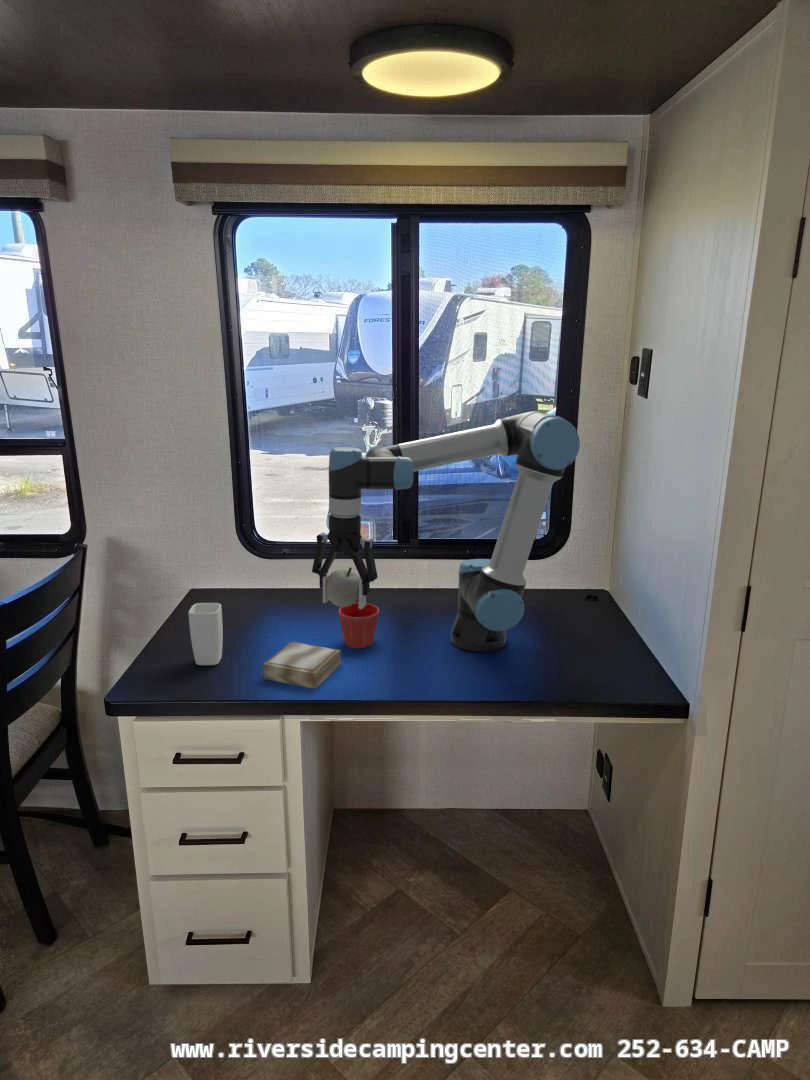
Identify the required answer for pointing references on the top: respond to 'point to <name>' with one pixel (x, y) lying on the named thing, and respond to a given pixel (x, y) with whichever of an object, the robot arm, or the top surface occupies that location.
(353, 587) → the decorative object
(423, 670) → the top surface
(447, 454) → the robot arm
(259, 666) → the top surface
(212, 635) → the cup
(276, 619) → the top surface
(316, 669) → the plinth
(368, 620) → the flower pot
